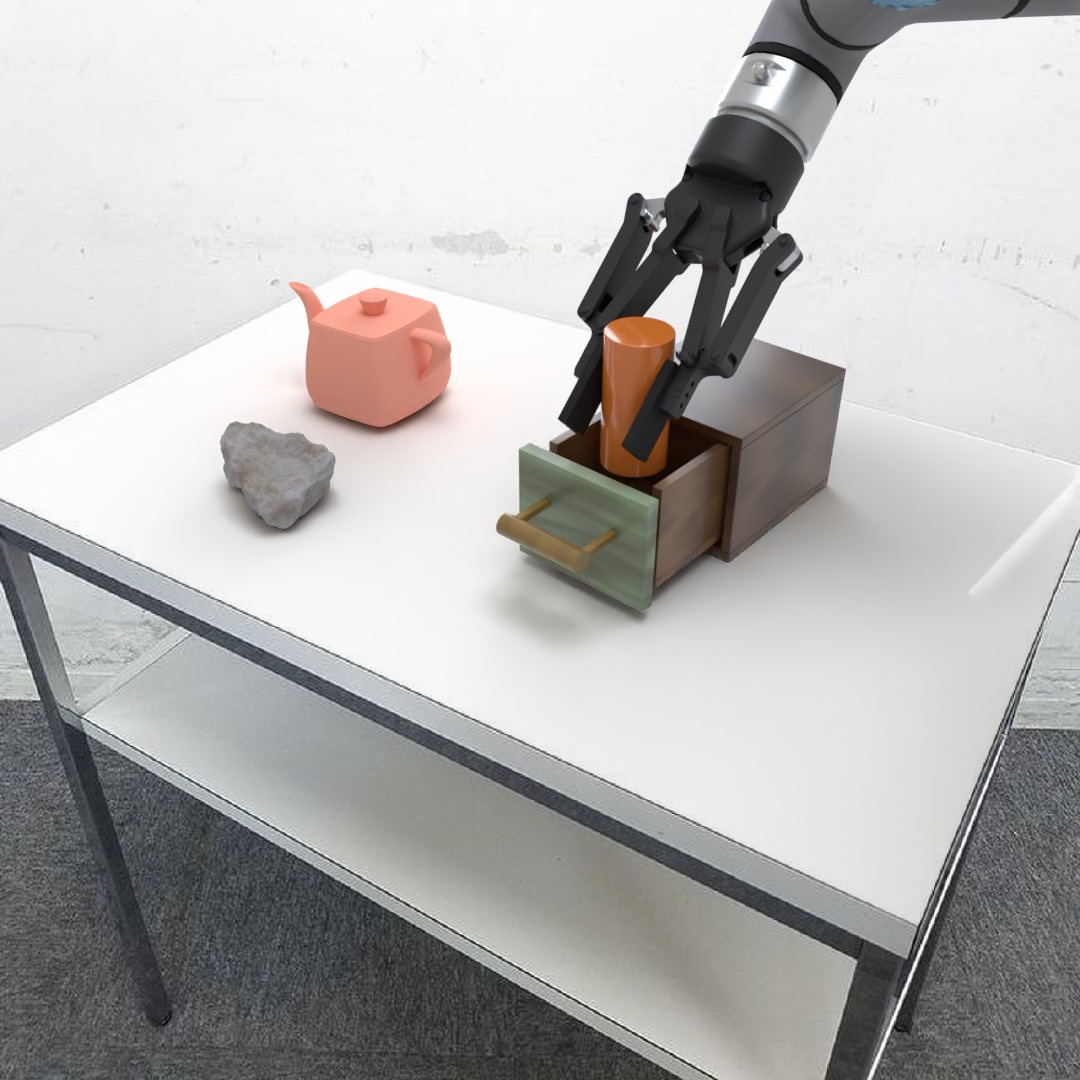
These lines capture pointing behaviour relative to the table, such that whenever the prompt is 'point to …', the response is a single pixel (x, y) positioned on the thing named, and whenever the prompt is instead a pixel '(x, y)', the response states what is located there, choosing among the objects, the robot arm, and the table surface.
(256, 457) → the stone
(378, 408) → the teapot
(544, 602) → the table surface
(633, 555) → the drawer
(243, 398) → the table surface
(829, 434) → the cabinet
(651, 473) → the canister
